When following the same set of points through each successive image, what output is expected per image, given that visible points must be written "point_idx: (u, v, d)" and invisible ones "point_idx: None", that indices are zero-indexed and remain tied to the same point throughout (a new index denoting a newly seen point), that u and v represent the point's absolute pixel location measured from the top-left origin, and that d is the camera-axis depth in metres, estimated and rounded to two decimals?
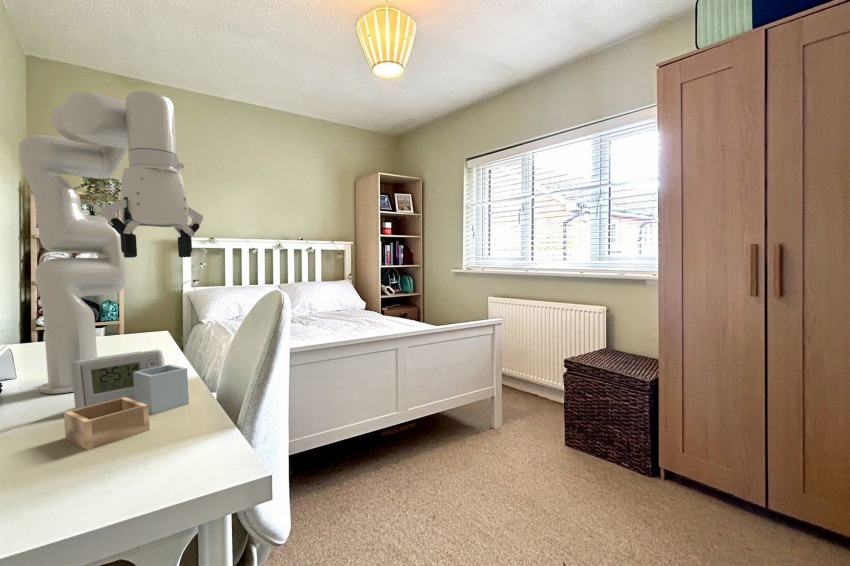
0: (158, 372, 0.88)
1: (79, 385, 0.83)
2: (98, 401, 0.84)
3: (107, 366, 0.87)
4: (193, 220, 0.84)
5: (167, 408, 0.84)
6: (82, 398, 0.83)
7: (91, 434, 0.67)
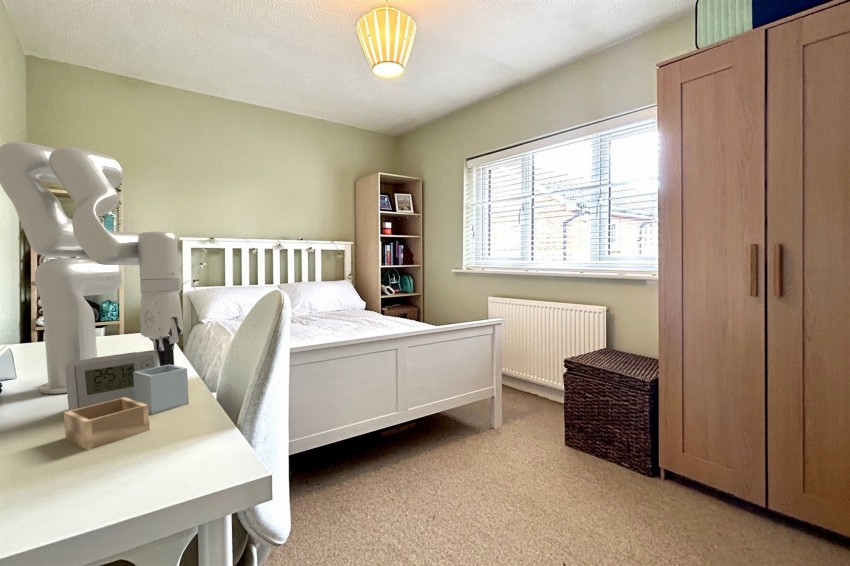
0: (158, 372, 0.88)
1: (72, 386, 0.82)
2: (92, 402, 0.83)
3: (101, 367, 0.86)
4: None
5: (167, 408, 0.84)
6: (75, 399, 0.82)
7: (91, 434, 0.67)
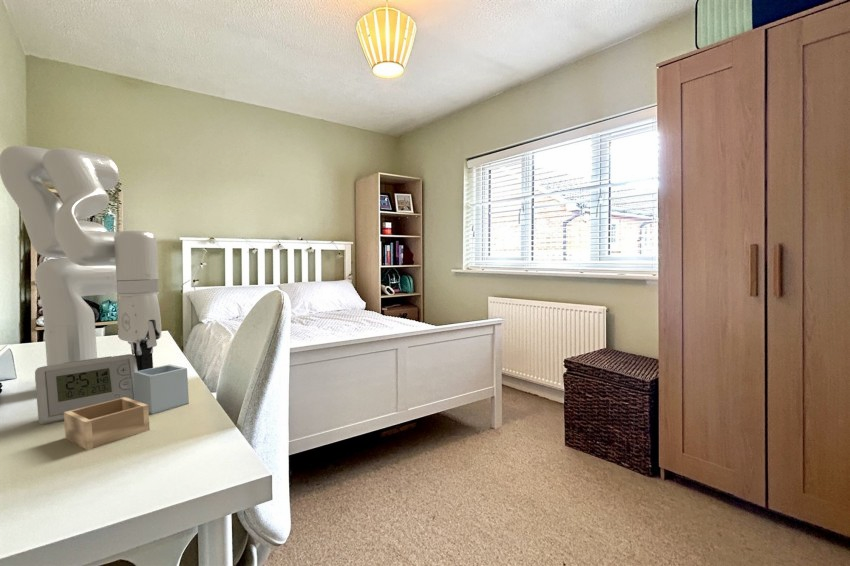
0: (158, 372, 0.88)
1: (42, 392, 0.78)
2: (63, 409, 0.79)
3: (74, 372, 0.82)
4: None
5: (167, 408, 0.84)
6: (46, 406, 0.78)
7: (91, 434, 0.67)
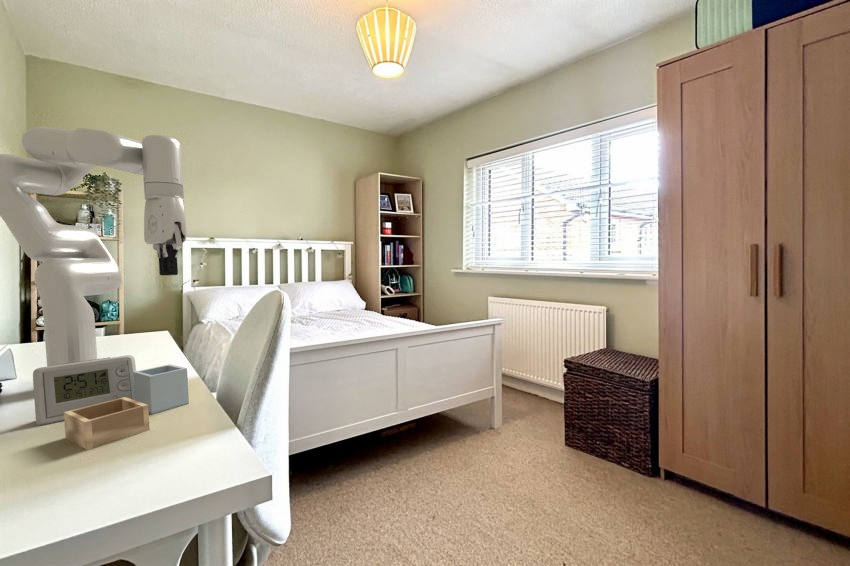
0: (158, 372, 0.88)
1: (40, 394, 0.78)
2: (61, 411, 0.79)
3: (72, 373, 0.82)
4: None
5: (167, 408, 0.84)
6: (43, 408, 0.78)
7: (91, 434, 0.67)
